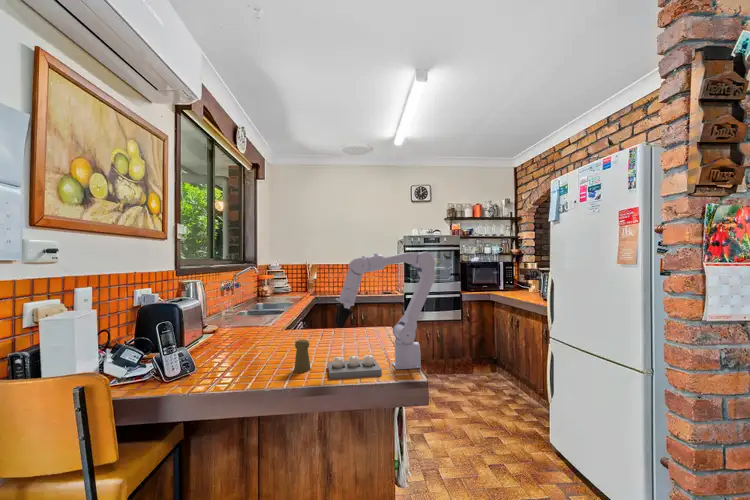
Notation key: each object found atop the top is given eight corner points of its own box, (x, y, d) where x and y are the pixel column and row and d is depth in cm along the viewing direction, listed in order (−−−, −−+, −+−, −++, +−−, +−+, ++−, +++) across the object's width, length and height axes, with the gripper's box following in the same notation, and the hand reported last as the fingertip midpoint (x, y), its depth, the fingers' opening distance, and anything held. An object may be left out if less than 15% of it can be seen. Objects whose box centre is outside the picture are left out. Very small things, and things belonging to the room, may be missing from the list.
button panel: (374, 364, 143) (374, 359, 143) (381, 375, 129) (381, 369, 129) (328, 367, 139) (327, 361, 139) (329, 378, 126) (329, 373, 126)
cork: (312, 367, 140) (312, 338, 140) (308, 372, 134) (307, 341, 134) (296, 367, 140) (296, 338, 140) (291, 372, 134) (291, 341, 134)
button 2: (358, 363, 136) (358, 355, 136) (359, 366, 133) (359, 358, 133) (348, 364, 136) (347, 356, 136) (349, 367, 132) (348, 358, 132)
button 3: (343, 364, 135) (343, 356, 135) (344, 367, 132) (344, 359, 132) (332, 365, 135) (332, 356, 135) (333, 368, 131) (333, 359, 131)
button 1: (372, 362, 137) (372, 354, 137) (374, 365, 134) (374, 357, 134) (362, 363, 137) (362, 355, 137) (364, 366, 133) (364, 357, 133)
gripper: (338, 285, 142) (327, 319, 141) (341, 287, 128) (329, 325, 126) (355, 291, 143) (344, 324, 142) (360, 293, 129) (348, 331, 127)
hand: (338, 325), depth 134 cm, fingers open, 7 cm apart
